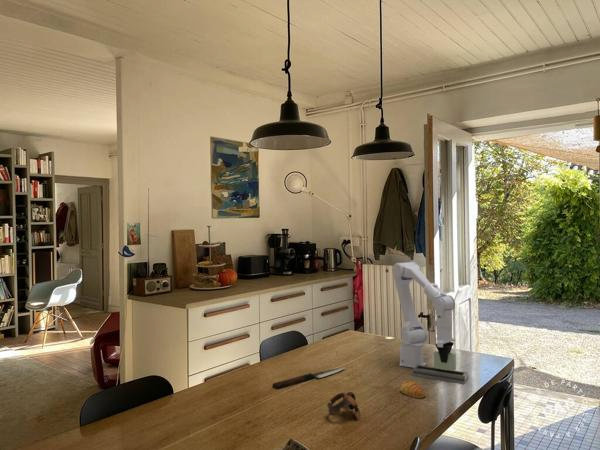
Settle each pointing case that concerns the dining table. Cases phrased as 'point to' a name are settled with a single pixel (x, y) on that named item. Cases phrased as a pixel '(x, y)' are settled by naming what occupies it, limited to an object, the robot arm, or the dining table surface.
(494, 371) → the dining table surface
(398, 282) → the robot arm
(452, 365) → the door panel
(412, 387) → the pastry
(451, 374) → the door track
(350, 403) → the brown openwork sculpture
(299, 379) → the kitchen knife
